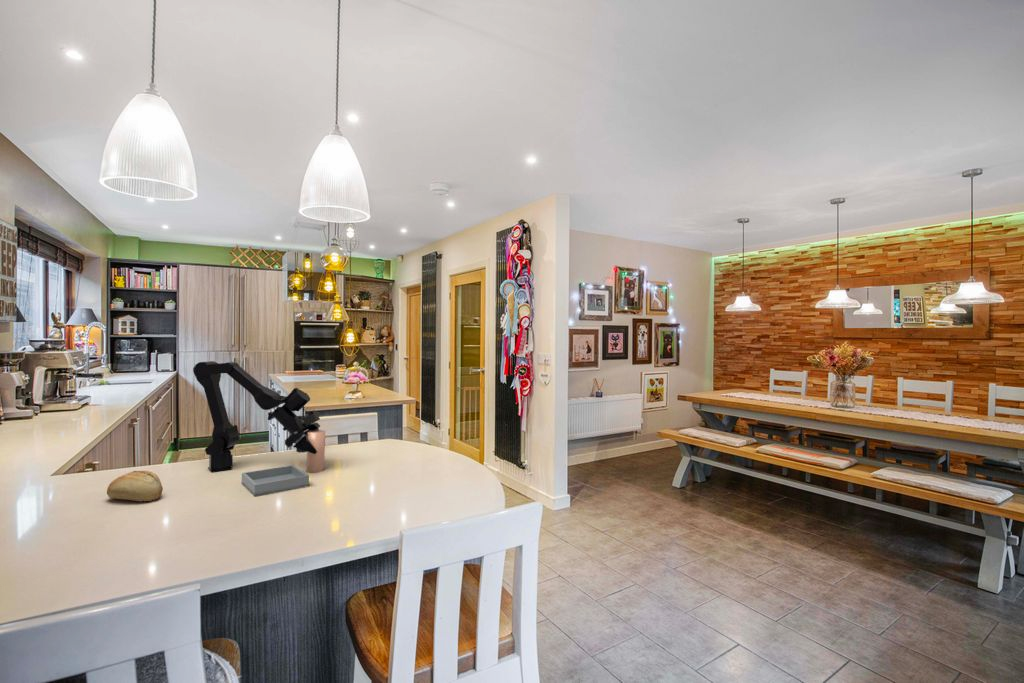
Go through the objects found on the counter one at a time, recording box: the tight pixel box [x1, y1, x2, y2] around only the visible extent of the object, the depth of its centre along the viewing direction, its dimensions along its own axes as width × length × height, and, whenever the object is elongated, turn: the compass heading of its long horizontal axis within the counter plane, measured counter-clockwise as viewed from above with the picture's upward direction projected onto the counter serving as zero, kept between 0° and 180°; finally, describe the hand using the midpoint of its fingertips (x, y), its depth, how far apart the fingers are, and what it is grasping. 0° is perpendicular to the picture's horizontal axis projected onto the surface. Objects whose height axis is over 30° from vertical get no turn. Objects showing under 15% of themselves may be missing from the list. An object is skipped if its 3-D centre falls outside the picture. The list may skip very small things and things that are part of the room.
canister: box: [305, 429, 326, 473], centre depth 172 cm, size 6×6×14 cm
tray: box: [241, 464, 310, 497], centre depth 154 cm, size 16×16×4 cm
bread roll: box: [106, 470, 164, 503], centre depth 139 cm, size 10×15×8 cm, turn 87°
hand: (319, 450), depth 172 cm, fingers closed on canister, 6 cm apart
